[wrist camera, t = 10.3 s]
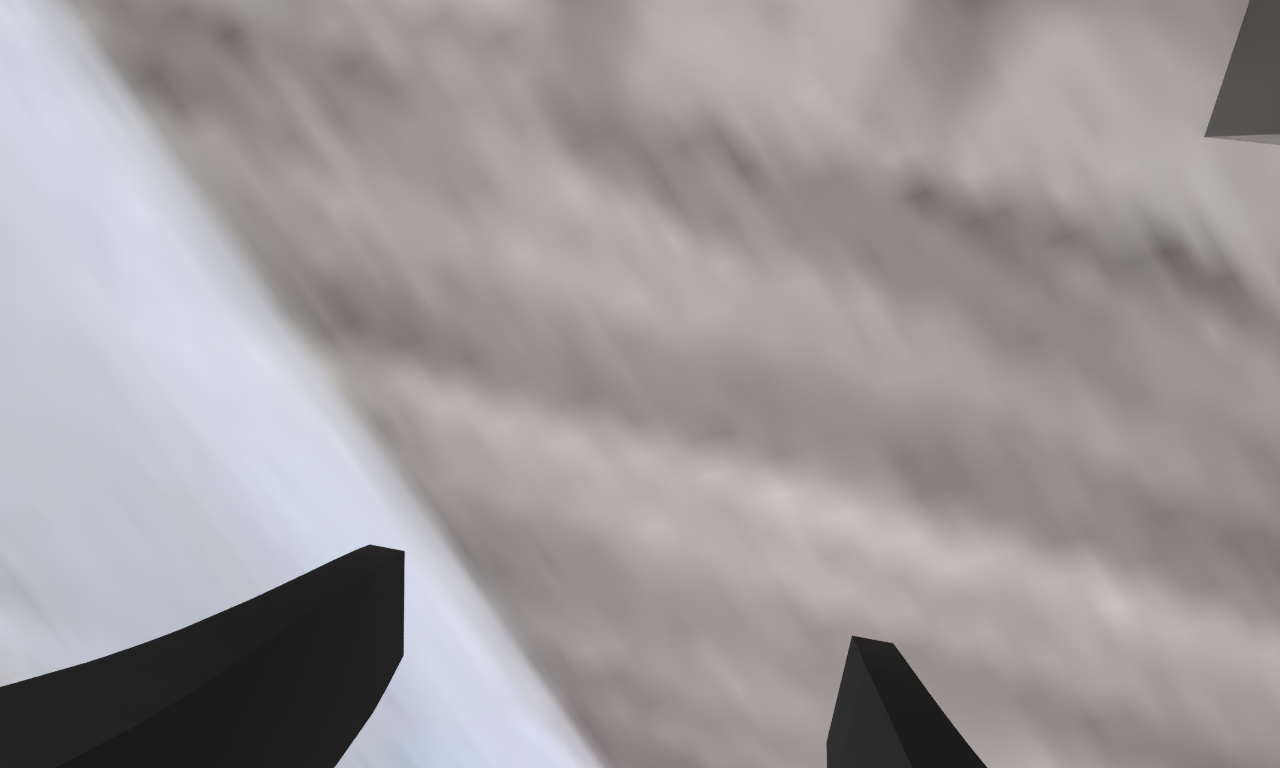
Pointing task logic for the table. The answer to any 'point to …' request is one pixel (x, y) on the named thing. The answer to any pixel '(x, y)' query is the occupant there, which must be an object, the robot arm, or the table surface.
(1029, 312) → the table surface
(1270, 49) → the flat slat
